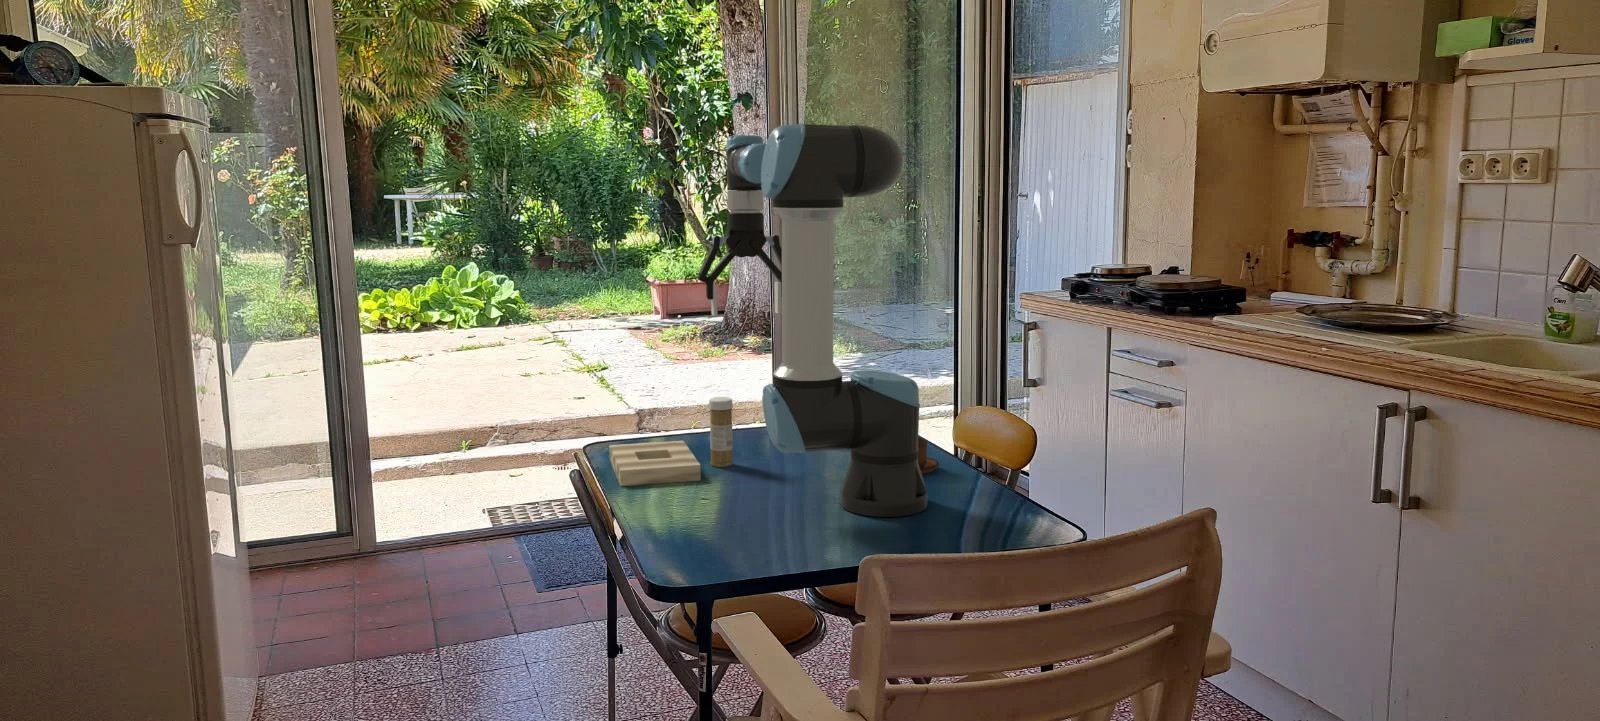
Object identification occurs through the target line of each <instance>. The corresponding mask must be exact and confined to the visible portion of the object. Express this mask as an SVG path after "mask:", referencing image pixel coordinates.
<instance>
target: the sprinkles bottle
mask: <svg viewBox="0 0 1600 721" xmlns="http://www.w3.org/2000/svg"><path fill="white" fill-rule="evenodd" d="M708 402H709V403H708V405H709V406H708V407H709V408H708V409H709V411H710V413H709V414H710V416H709V417H710V418H709V420H710V424H709V428H710V429H709V431H710V433H709V442H710V444H709V445H710V447H709V448H710V462H709V464H710V465H711V466H712V467H716V468H725V467H730V466H732V465H733V464H734V462H733V461H734V460H733V448H734V447H733V442H734V441H733V416H732V415H733V414H732V413H733V399H732V397H727V396H716V397H711V398H710V399H709V401H708Z"/></svg>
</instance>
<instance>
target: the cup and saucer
mask: <svg viewBox="0 0 1600 721" xmlns="http://www.w3.org/2000/svg"><path fill="white" fill-rule="evenodd" d="M918 464H919V468H920V471H921V474H922V476H923V475H927V474H929V473H930V474H931V473H933V472H934V471H935V470H937V469H938V468H939V465H940V462H939V461H938V460H937V459H935V458H934V457H933V458H931V457H930V456H928V441H927V440H926V439H925V438H921V437H918Z"/></svg>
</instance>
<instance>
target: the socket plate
mask: <svg viewBox="0 0 1600 721" xmlns="http://www.w3.org/2000/svg"><path fill="white" fill-rule="evenodd" d="M608 448H609V461H610V463H611V467H612V469H613V471H614V473H615V476H616V478H617V480H618V483H619V486H620V487H626V486H627V487H628V486H639V485H640V486H641V485H643V486H644V485H654V484H669V483H681V482H694V481H695V482H697V481H701V479H702V478H701V475H702V473H701V472H702V471H701V470H702V469H701V463H700V462H699V461H698V459H697V458H696V456H695V455H694V454H693V452H692V451H691V449H690V448H689V447H688V445H687V444H686V443H685V441H684V440H674V441H673V440H671V441H653V442H638V443H624V444H622V443H621V444H610V445H609V447H608Z"/></svg>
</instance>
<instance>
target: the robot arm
mask: <svg viewBox="0 0 1600 721" xmlns="http://www.w3.org/2000/svg"><path fill="white" fill-rule="evenodd" d="M725 155H726V185H727V186H726V187H727V189H726V190H727V208H726V209H727V210H728V211H729V213H727V215H726V216H727V233H726V234H727V235H726V236H719V235H713V236H712V238H711V247H710V249H709V251H708V253H707V255H706V257H705V259H704V260H703V264H702V265H701V267H700V269H699V272H698V274H697V276H696V278H697V280H698V281H700V282H702V283H705V288H706V289H705V294H706V295H705V296H706V299H707V300H711V303H710V304H711V305H710V306H711V308H710V309H711V312H710V314H711V316H713V317H717V316H718V284H717V283H715V282H716V280H717V279H718V277H719V276H721V274H722V272H723V271H724V270H725V269H726V268H727V266H728V265H729V264H730V263H731V262H732V260H733V259H734V258H735V257H738V258H745V257H748V258H755V257H756V256H757V257H758V258H759V259H760V260H761V261H762V262H763V264H764V265H765V266H766V267H767V268H768V269H769V271H770V272H771V273H772V274H773V276H774V277H775V278H776V279H777V280H778V281H774V313H776V314H779V315H780V314H781V363H780V364H779V366H778V367H777V368H776V369H775V370H774V371H773V375H772V376H773V377H772V380H773V382H772V383H768V384H767V385H765V386H764V387H763V389H762V397H761V401H762V402H761V403H762V410H763V417H764V423H765V427H766V430H767V434H768V436H769V438H770V439H769V440H770V441H771V443H772V446H774V448H775V449H776V450H777V451H779V452H781V453H787V454H789V453H795V454H797V453H799V454H806V453H813V452H825V451H826V452H828V451H841V450H842V451H843V450H850V462H849V464H848V465H849V466H848V468H847V471H846V474H845V476H844V481H843V483H842V485H841V488H840V493H839V494H840V501H839V502H840V506H841V507H842V508H843V509H844V510H846V511H847V512H848V511H849V512H850V513H853V514H857V515H863V516H869V517H876V518H881V517H882V518H896V517H906V516H912V515H915V514H919V513H921V512H923V511H925V510H926V509H927V507H928V491H927V487H926V484H925V480H924V477H923V475H922V474H921V471H920V468H919V464H918V438H919V430H920V429H919V428H920V427H919V426H920V425H919V422H920V408H921V404H920V398H919V397H920V395H919V394H920V393H919V386H918V384H917V382H916V381H915V380H914V379H913V378H911V377H909V376H905V375H901V374H898V373H893V372H887V371H879V370H868V369H866V370H865V369H862V370H854V371H852V372H851V374H850V376H849V378H850V380H845V381H844V380H843V372H842V370H841V369H839V367H838V366H836V364H835V362H834V283H835V282H834V273H835V272H834V271H835V270H834V268H835V267H834V266H835V264H834V263H835V260H834V255H835V254H834V253H835V252H834V251H835V247H834V246H835V244H834V243H835V241H834V240H835V237H834V236H835V233H834V232H835V226H834V225H835V218H836V217H837V216H838V215H839V214H840V213H841V212H842V211H843V210H844V198H861V197H869V196H873V195H876V194H880V193H881V192H885V191H886V190H887V189H889V188H890V187H892V185H893V184H894V183H895V182H896V181H897V180H898V178H899V177H900V175H901V173H902V170H903V169H902V168H903V165H904V157H903V154H902V149H901V147H900V145H899V143H898V142H897V141H896V140H895V138H894V137H892V136H891V135H890V134H889V133H887V132H885V131H884V130H881V129H879V128H876V127H872V126H868V125H858V124H856V125H855V124H854V125H847V124H846V125H841V124H840V125H839V124H836V125H835V124H833V125H832V124H809V123H808V124H807V123H797V124H787V125H786V124H785V125H780V126H777V127H775V128H774V129H773V130H772V131H771V132H770V134H769V136H768V138H767V141H766V143H764V140H763V137H762V136H760V135H747V134H745V135H743V134H741V135H731V136H729V137H728V138H727V140H726V151H725ZM764 197H765V198H768V199H769V200H772V202H771V204H772V209H771V210H772V211H774V213H775V214H776V215H777V216H778V217H779V218H780V220H781V240H780V236H779V235H778V234H771V235H769V236H768V235H767V236H766V235H765V215H764V213H763V212H762V211H763V210H764V209H765V208H764V207H765V202H764V200H765V199H764ZM780 242H781V243H780ZM724 243H725V244H726V245H727V246H728V248H729V249H728V250H727V251H726V253H725V254H724V256H723V257H722V259H721V260H719V262H718V263H717V265H716V266H714V267H713V269H712V271H711V272H710V273H709V271H710V269H711V267H712V265H713V262H714V260H715V259H716V256H717V255H718V252H719V250H720V247H721V248H722V247H723V246H724ZM766 243H768V245H769V246H770V247H771V248H772V250H773V252H774V254H775V256H776V258H777V260H778V262H779V264H780V266H781V270H780V269H779V267H777V265H776V264H775V263H774V262H773V260H772V259H771V258H770V257H769V256H768V255H767V253H766V251H764V249H763V247H764V246H765V245H766ZM708 273H709V274H708ZM707 275H708V276H707Z"/></svg>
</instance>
